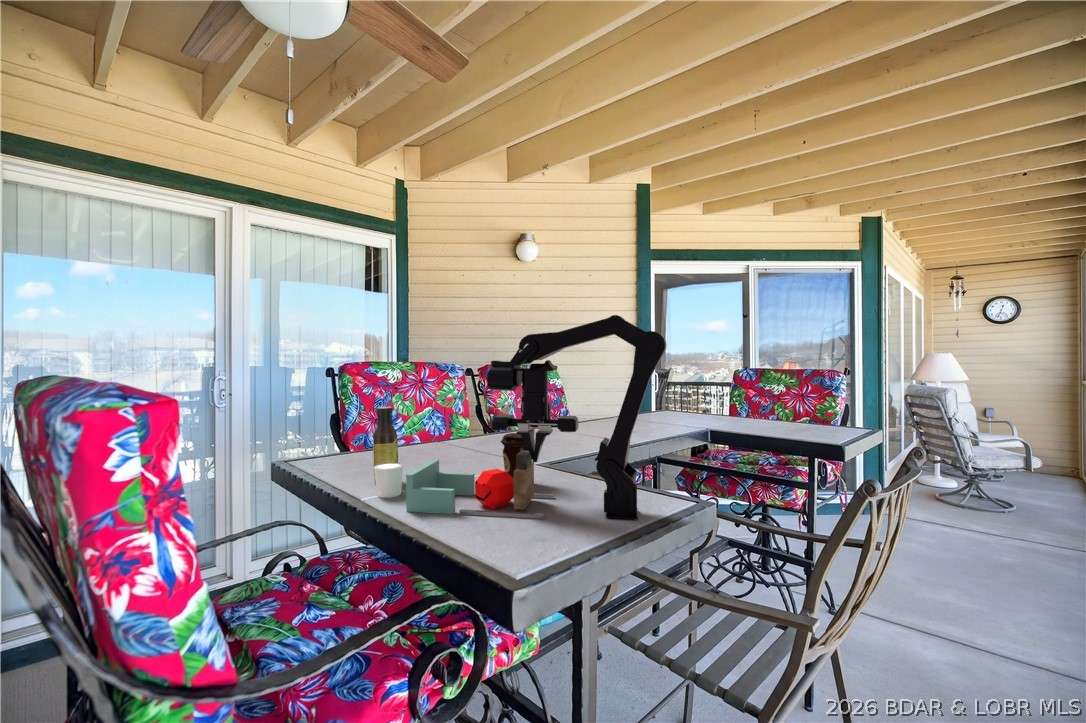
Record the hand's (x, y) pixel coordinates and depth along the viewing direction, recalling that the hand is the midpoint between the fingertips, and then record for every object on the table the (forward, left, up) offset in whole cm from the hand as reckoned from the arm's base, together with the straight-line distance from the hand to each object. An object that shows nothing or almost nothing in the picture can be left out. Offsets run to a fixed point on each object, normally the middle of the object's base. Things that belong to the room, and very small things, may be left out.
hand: (535, 461), depth 110 cm
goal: (+21, 0, -10) cm, 23 cm away
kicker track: (+6, 0, -10) cm, 12 cm away
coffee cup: (+8, -17, -10) cm, 21 cm away
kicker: (+2, 0, -10) cm, 10 cm away
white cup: (+37, -4, -10) cm, 39 cm away
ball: (+9, 0, -10) cm, 14 cm away
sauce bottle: (+43, -14, -10) cm, 46 cm away
